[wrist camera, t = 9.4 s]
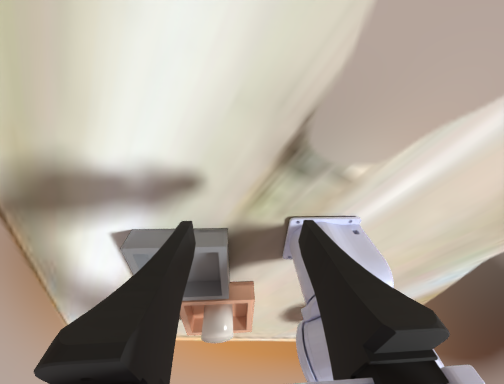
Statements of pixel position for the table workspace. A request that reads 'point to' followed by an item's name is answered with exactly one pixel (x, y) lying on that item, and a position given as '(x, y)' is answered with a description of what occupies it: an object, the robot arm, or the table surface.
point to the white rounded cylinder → (217, 323)
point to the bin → (203, 266)
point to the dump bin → (238, 296)
